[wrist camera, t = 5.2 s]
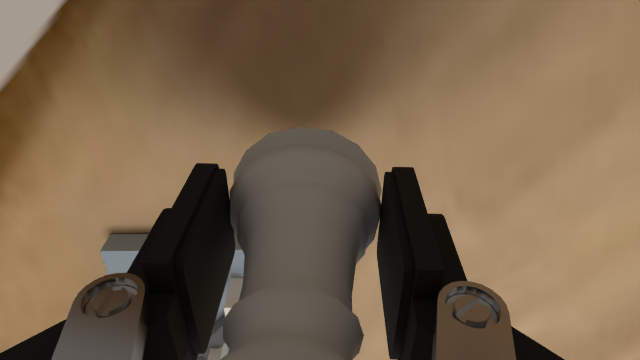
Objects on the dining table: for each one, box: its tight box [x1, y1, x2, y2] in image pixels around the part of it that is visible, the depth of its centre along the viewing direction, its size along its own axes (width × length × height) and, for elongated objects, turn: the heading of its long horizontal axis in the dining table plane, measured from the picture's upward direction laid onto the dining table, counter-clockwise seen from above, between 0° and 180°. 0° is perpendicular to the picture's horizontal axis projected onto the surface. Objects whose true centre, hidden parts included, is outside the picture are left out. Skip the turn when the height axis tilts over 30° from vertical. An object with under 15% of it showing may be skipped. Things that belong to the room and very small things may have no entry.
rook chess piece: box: [220, 127, 382, 360], centre depth 10 cm, size 4×4×8 cm
